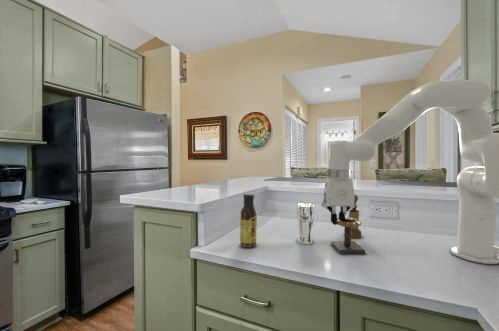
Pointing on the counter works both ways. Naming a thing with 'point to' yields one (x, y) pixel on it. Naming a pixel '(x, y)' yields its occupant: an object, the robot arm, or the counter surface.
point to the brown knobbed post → (355, 214)
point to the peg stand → (347, 243)
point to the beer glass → (305, 222)
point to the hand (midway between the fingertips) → (337, 223)
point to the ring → (354, 223)
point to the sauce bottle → (248, 222)
